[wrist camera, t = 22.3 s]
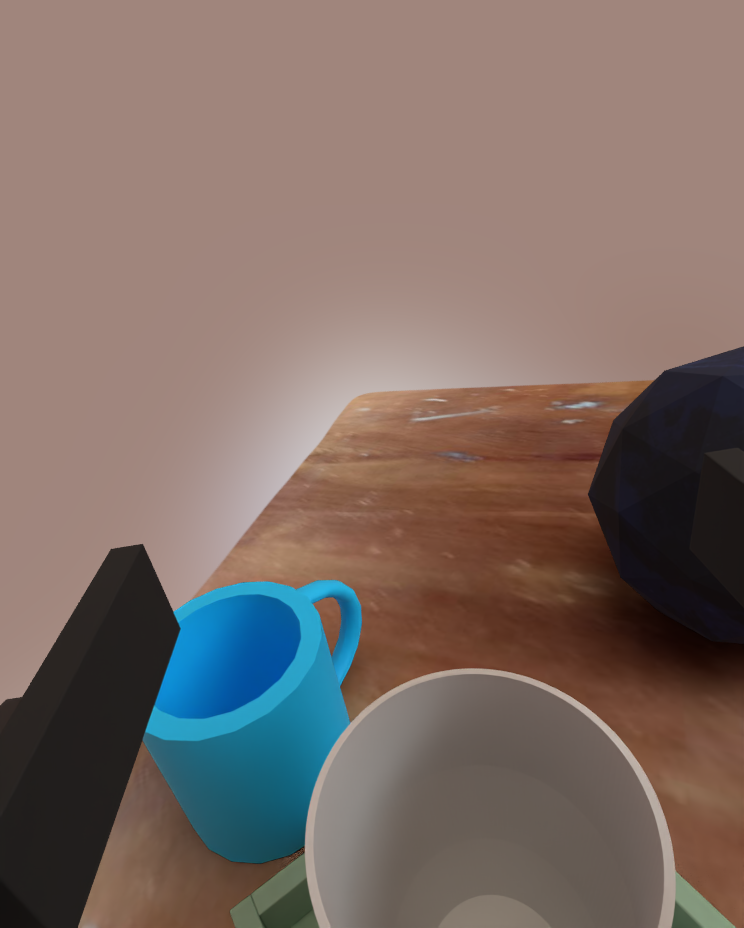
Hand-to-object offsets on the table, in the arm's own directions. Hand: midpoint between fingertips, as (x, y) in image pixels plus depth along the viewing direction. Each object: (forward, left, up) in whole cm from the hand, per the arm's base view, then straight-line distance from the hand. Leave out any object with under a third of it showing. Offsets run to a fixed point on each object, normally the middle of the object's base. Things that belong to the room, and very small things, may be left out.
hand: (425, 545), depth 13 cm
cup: (-2, -3, -16) cm, 16 cm away
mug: (-3, +10, -17) cm, 20 cm away
